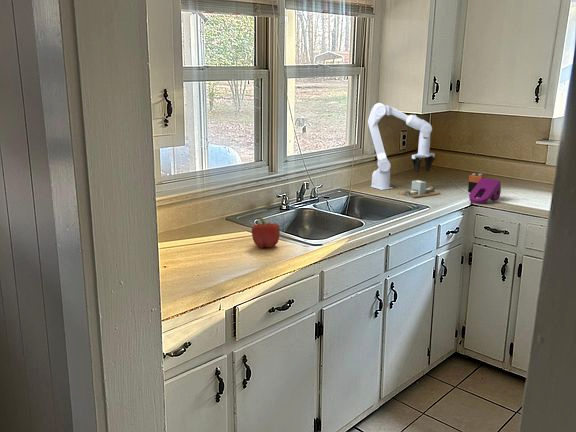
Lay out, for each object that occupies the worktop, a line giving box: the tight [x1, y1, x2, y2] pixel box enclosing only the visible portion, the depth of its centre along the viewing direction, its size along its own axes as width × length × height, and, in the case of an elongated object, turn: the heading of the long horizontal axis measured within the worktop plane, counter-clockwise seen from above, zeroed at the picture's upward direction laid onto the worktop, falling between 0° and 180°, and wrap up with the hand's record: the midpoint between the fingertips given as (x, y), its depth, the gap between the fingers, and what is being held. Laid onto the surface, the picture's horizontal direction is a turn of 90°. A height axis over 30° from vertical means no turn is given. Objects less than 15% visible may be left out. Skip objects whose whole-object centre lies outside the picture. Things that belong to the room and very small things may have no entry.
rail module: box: [410, 179, 427, 195], centre depth 295 cm, size 6×4×6 cm, turn 33°
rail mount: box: [398, 186, 441, 199], centre depth 296 cm, size 11×18×3 cm, turn 123°
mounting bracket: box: [468, 177, 502, 205], centre depth 286 cm, size 10×8×18 cm
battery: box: [467, 172, 486, 194], centre depth 300 cm, size 4×7×10 cm, turn 49°
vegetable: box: [251, 216, 280, 249], centre depth 212 cm, size 11×10×10 cm
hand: (422, 171), depth 305 cm, fingers open, 7 cm apart
